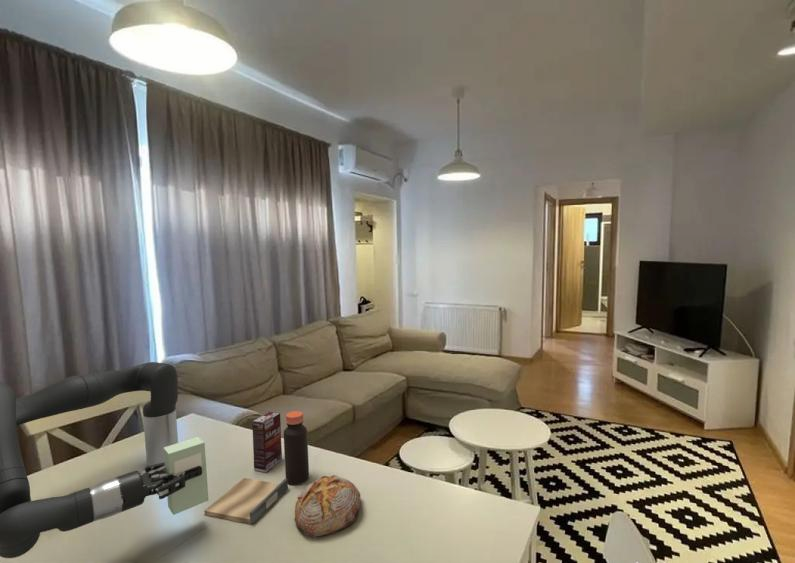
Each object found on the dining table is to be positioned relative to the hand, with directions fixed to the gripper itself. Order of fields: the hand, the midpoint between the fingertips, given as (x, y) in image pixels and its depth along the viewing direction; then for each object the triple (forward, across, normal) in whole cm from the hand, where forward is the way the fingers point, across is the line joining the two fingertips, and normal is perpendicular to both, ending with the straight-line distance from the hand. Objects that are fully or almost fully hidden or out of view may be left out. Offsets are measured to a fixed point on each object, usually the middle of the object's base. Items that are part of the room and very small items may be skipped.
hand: (197, 466), depth 104 cm
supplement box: (+25, -15, -16) cm, 33 cm away
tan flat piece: (+12, -1, -15) cm, 19 cm away
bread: (+25, +20, -16) cm, 35 cm away
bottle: (+28, -1, -16) cm, 32 cm away
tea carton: (-3, 0, -9) cm, 9 cm away
